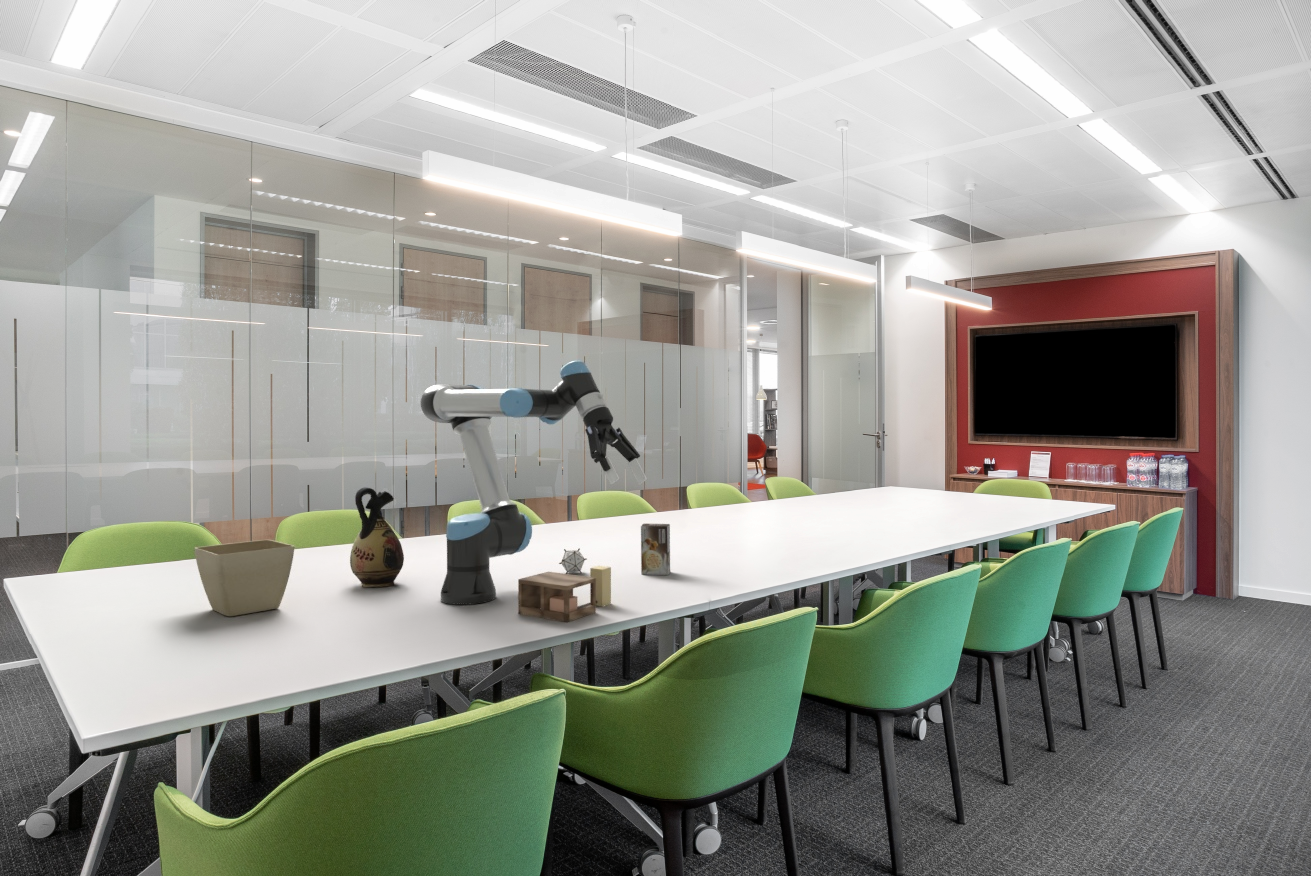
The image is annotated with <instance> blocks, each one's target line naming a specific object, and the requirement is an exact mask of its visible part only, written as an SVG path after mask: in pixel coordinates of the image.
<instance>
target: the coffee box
mask: <svg viewBox="0 0 1311 876" xmlns="http://www.w3.org/2000/svg"><path fill="white" fill-rule="evenodd" d="M670 527H671V524H670V523H642V524H641V525H640V557H641V558H640V562H641V563H640V565H641V566H640V567H641V568H640V570H641V575H648V576H649V575H653V576H654V575H655V576H656V575H657V576H669V575H670V573H671V537H670V536H671V533H670V532H671V530H670V529H671V528H670Z"/></svg>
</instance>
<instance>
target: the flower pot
mask: <svg viewBox="0 0 1311 876" xmlns="http://www.w3.org/2000/svg"><path fill="white" fill-rule="evenodd" d="M295 547H296V546H295V545H293V544H289V543H285V542H281V541H277V540H273V539H260V540H250V541H249V540H248V541H240V542H231V543H222V544H221V543H220V544H214V545H204V546H196V547H193V550H194V556H195V561H196V565H197V569H198V573H199V577H200V580H201V584H202V586H203V590H204V592H205V595H206V597H207V600H208V602H209V605H210V606H211V609H212V611H215V612H217V613H219V614H221V615H224V616H225V617H234V616H241V615H246V614H253V613H258V612H264V611H269V610H270V611H271V610H275V609H279V608H280V605H281V603H282V600H283V598H284V595H285V592H286V589H287V586H288V582H289V578H290V575H291V570H292V566H293V565H292V564H293V561H294V553H295Z"/></svg>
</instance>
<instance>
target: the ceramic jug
mask: <svg viewBox="0 0 1311 876" xmlns="http://www.w3.org/2000/svg"><path fill="white" fill-rule="evenodd" d="M366 495H369V496H370V499H369V500H368V501H367V503H366V505H365V507H364V503H363V497H364V496H366ZM354 498H355V499H354V500H355V506H356V508H357V512H358V514H359V517H360V520H361V529H360V531H359V532H358V533H357V536H356V537H355V539H354V541H353V544H352V546H351V551H350V556H349V557H350V558H349V564H350V569H351V572H352V574H353V575H355V577H356V578H357V580H359V582H360V583H361V586H362V587H363V588H366V587H367V588H368V587H370V588H384V587H391V586H394V585H395V580H396V579H397V577H398V575H399V574H400V572H401V570H402V569H403V567H404V561H405V560H404V559H405V555H404V549H403V546H402V543H401V541H400V539H399V538H398V535H397V533H396V532H395V531H394V530H393V528H392V527H391V525H390V524H389V523H388V522H387V521H386V520H385V518H384V517H383V512H382V509H383V507H385V506H386V505H388V504H390V503H391V502H394V501H395V500H394V499H395V498H394V497H393V495H392V494H391V493H389V492H388V491H386V490H385V491H383V492H381V491H378V493H377V491H375V489H373V488H371V487H366V486H365V487H362V488H360V489H358V490H357V491H356V493H355V496H354ZM366 510H369V514H367V513H366Z"/></svg>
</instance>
